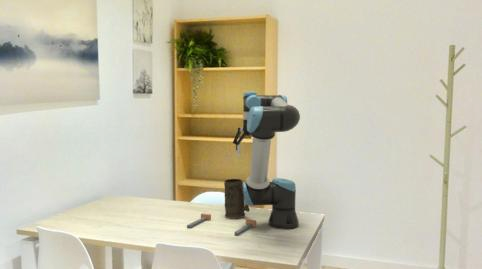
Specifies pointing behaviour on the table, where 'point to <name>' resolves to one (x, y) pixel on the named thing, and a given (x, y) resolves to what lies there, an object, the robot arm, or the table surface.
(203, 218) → the grey and brown bars
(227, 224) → the table surface
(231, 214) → the beer stein
